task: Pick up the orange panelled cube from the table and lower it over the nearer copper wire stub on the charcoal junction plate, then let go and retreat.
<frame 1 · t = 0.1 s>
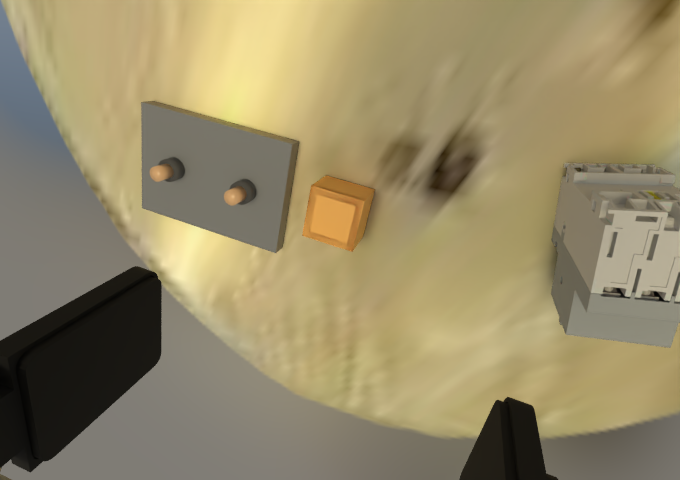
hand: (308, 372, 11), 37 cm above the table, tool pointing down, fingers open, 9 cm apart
circuit breaker: (593, 232, 42), on the table
junction plate: (219, 175, 52), on the table
orange panelled cube: (345, 206, 49), on the table
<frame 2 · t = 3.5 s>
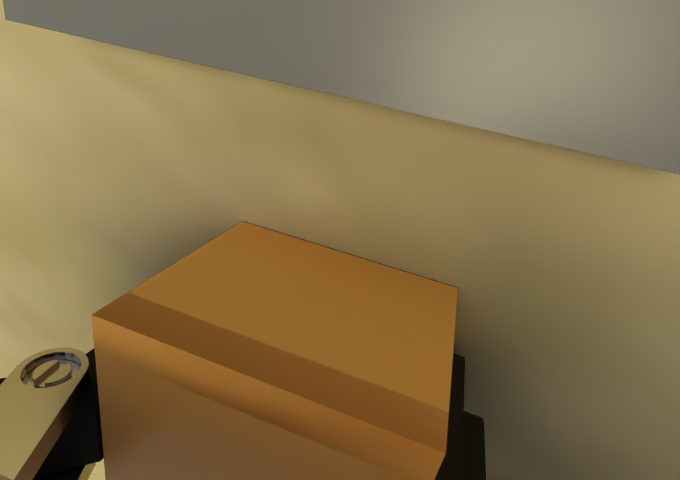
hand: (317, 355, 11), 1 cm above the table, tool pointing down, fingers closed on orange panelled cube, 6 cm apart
orange panelled cube: (324, 342, 12), on the table, touching gripper
when the fingers open (4 cm above the table, at t = 9.1 s): orange panelled cube drops 1 cm, resting on junction plate.
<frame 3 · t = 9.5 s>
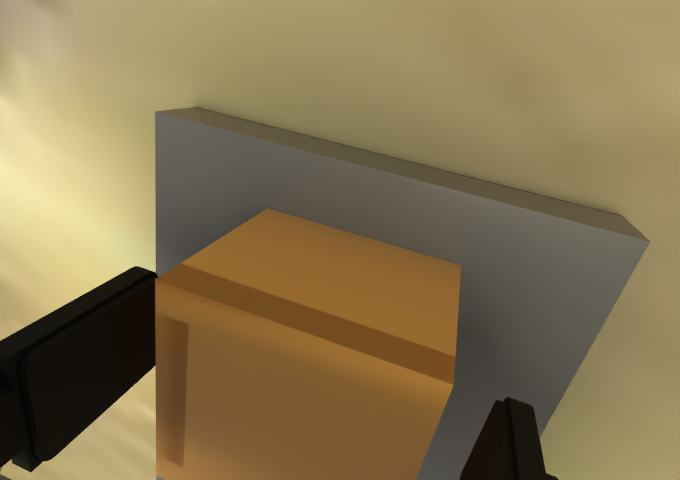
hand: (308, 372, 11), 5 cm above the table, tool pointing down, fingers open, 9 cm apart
junction plate: (331, 388, 17), on the table
orange panelled cube: (340, 318, 13), point 2 cm above the table, touching junction plate
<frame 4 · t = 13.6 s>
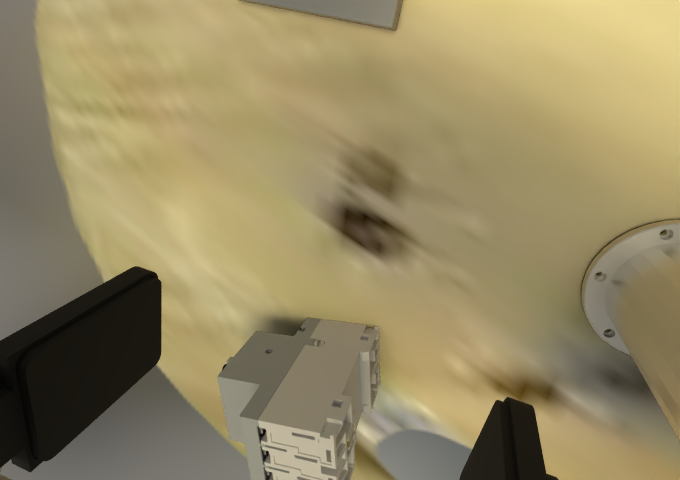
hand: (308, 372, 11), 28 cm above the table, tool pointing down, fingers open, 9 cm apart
circuit breaker: (318, 345, 47), on the table
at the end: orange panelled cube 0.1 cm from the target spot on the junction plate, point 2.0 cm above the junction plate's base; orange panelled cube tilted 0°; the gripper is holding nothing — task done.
